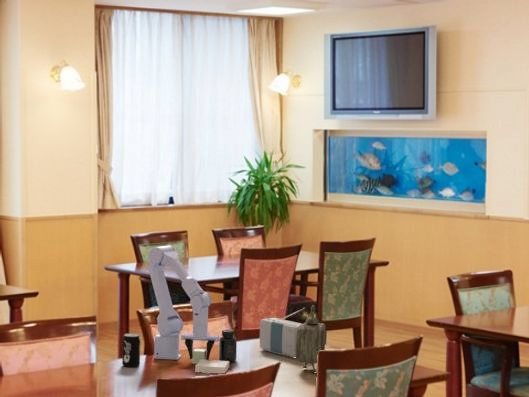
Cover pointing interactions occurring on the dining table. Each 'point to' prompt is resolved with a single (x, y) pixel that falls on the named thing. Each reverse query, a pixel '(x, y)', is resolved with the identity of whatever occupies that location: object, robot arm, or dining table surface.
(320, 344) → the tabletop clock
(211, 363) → the ceramic base
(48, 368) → the dining table surface
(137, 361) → the beverage can
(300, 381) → the dining table surface
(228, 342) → the supplement bottle
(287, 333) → the stereo radio cassette player
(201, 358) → the sage block
